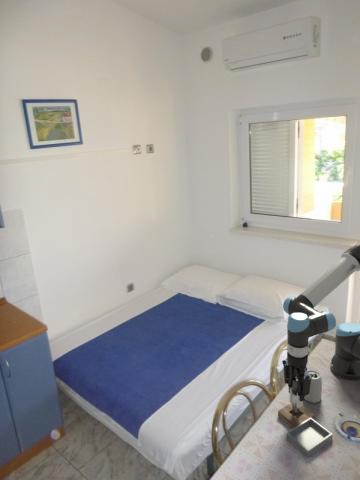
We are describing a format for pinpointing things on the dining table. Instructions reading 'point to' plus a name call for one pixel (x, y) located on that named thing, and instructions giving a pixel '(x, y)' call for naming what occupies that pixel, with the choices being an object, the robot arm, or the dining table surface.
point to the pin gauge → (295, 396)
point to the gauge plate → (288, 416)
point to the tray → (309, 436)
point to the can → (314, 387)
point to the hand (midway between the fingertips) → (296, 403)
